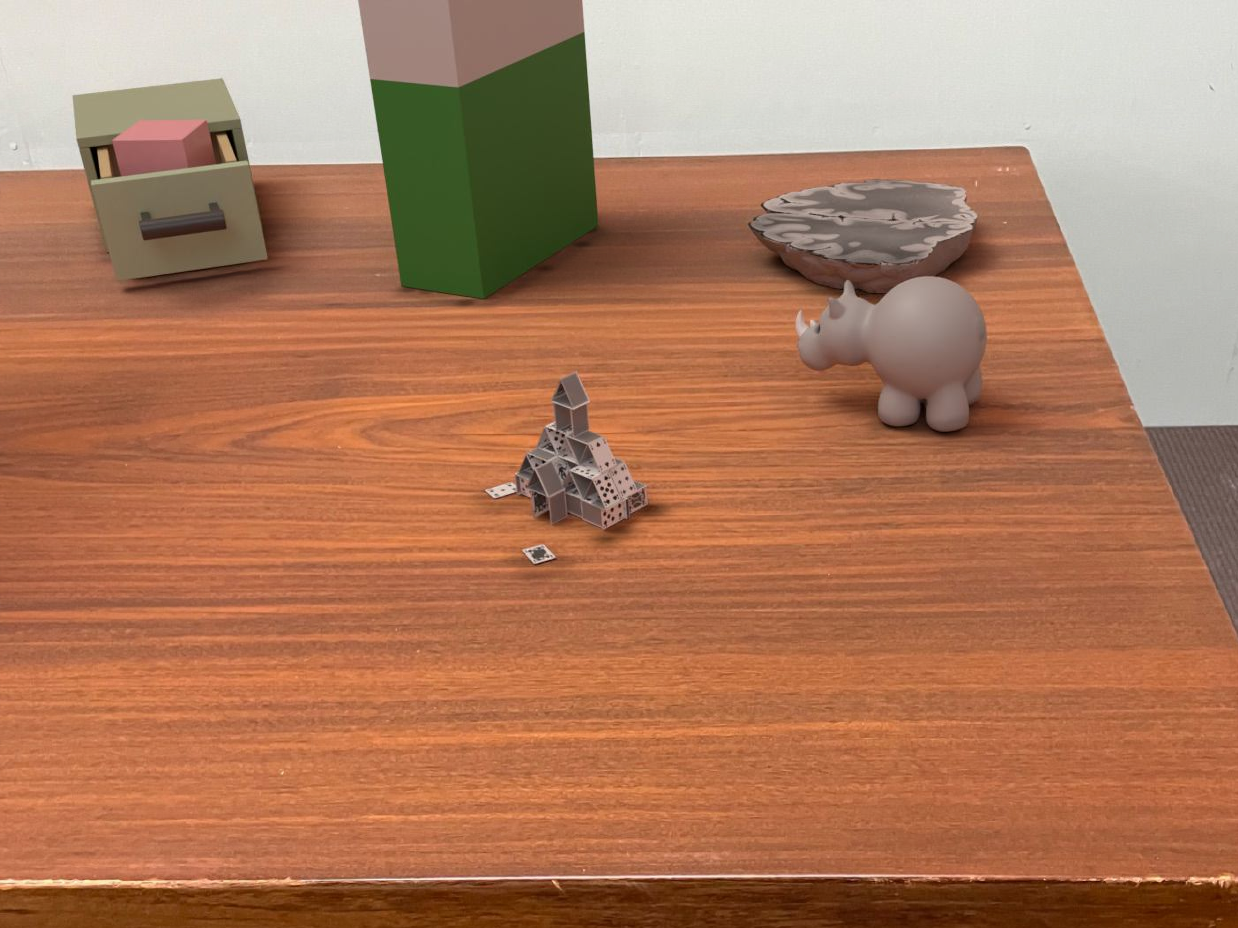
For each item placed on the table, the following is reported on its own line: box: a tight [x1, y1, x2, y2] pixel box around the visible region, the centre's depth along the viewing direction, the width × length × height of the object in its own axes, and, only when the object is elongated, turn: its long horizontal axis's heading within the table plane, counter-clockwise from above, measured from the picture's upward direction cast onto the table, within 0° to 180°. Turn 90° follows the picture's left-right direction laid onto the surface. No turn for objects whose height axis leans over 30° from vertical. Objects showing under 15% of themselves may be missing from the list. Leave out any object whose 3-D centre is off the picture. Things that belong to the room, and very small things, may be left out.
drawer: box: [91, 131, 269, 282], centre depth 119 cm, size 18×11×7 cm, turn 20°
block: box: [112, 120, 216, 177], centre depth 119 cm, size 6×6×8 cm
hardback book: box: [357, 0, 599, 300], centre depth 114 cm, size 18×7×24 cm, turn 154°
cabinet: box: [72, 77, 264, 253], centre depth 129 cm, size 15×13×9 cm
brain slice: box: [747, 178, 979, 294], centre depth 117 cm, size 20×17×3 cm
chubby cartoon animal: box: [794, 276, 988, 433], centre depth 93 cm, size 7×12×8 cm, turn 67°
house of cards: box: [484, 370, 649, 565], centre depth 84 cm, size 9×9×8 cm
